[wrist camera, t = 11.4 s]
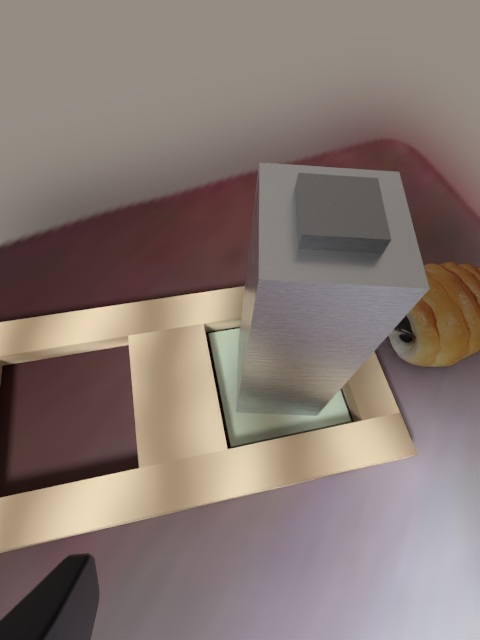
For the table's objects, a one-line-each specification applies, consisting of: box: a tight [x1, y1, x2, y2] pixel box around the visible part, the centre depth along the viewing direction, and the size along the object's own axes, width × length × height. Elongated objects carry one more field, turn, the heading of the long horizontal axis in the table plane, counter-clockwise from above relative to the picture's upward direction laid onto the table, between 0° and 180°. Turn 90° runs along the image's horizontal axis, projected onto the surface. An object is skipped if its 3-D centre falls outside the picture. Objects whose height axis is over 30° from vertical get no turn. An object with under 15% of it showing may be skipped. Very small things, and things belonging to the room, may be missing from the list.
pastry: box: [388, 262, 480, 367], centre depth 24 cm, size 9×7×4 cm
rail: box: [0, 286, 417, 553], centre depth 21 cm, size 24×12×1 cm, turn 102°
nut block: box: [236, 163, 429, 416], centre depth 17 cm, size 5×5×14 cm
